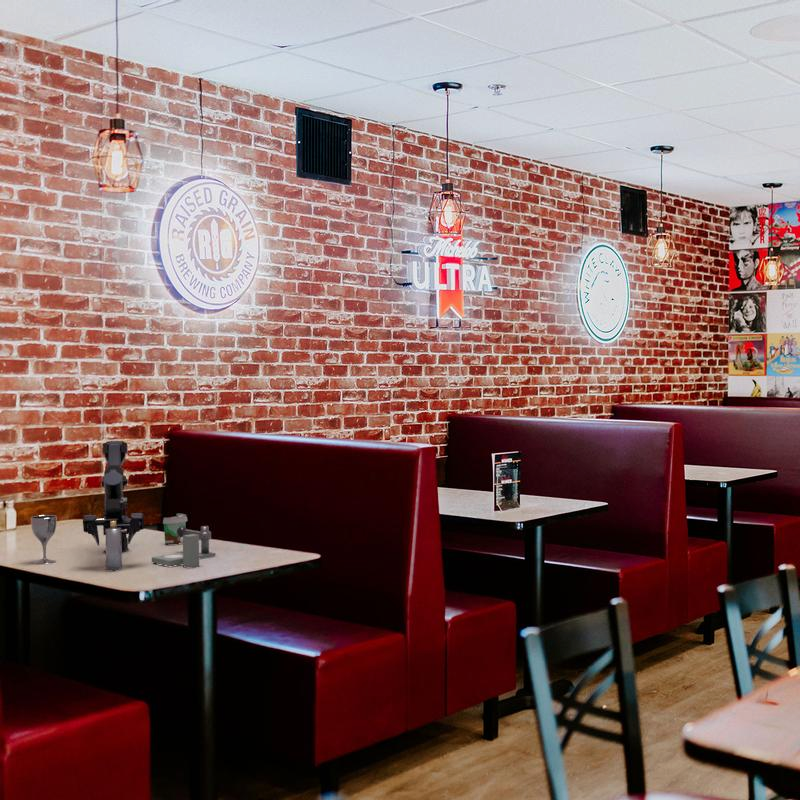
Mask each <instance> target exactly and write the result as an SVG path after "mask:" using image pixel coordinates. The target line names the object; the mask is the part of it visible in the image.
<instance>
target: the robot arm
mask: <svg viewBox="0 0 800 800" xmlns="http://www.w3.org/2000/svg"><path fill="white" fill-rule="evenodd" d="M102 455H104V459H105V461H106V464H107V468H106V469H105V470H104V471H103V473H104V475H103V476H102V477H101V488H102V489H104V508H103V516H104V517H102V518H97V515H96V514H90V515H87V514H86V515H83V517H82V528H83V529H82V530H83V533H87V534H88V535H91V536H92V538H93V539H94V541H95V543H96V545H97V546H100V537H99V529H98V526H99V527H100V526H101V527H102V529H103V531H102V533H103V536H106V533H105V529H106V528H110V521H113V520H115V521H116V527H120V528H121V540H122V553H123V551H124V552H127V551H129V550H130V548H129V545H130V544H131V541H132V540H133V537H134V536H135V535H136V534H137V532H141V531H142V530H144V529H145V515H144V514H143V513H142V512H138V513H137V512H135V513H134V512H133V513H131V514H130V515H131V516H130V517H129V516H127V510H126V509H128V497H124V493H123V491H124V490H125V488H126V487H127V485H128V484H129V480H128V478H127V477H126V475H125V473H124V470H123V468H122V466H123V464H124V463H125V461H126V455H128V442H125V441H124V440H110V441H106V442H103V443H102ZM127 536H128V537H127ZM126 550H127V551H126ZM103 553H106V549H105V550H103Z"/></svg>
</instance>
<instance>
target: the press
mask: <svg viewBox="0 0 800 800" xmlns="http://www.w3.org/2000/svg"><path fill="white" fill-rule="evenodd" d="M180 542H181V543H183V544H182V553H179V552H177V553H170V554H164V555H158V556H152V557H151V563H152V562H153V563H158V564H162V565H167V566H174V565H179V566H185V567H184V568H186V567H192V568H195V567H194V566H198V567H200V559H199V558H202V559H206V558H205V557H208V558H211V557H210V556H213V557H216V556H217V553H216V552H212V551H211V552H210V551H209V553H201V552H200V540H199V535H196V534H190V535H183V537H181V538H180ZM215 555H216V556H215ZM181 564H183V565H181ZM162 565H161V566H162ZM174 567H175V566H174Z"/></svg>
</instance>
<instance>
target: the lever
mask: <svg viewBox="0 0 800 800" xmlns="http://www.w3.org/2000/svg"><path fill="white" fill-rule="evenodd" d="M209 527H210V526H208V525H203V526H200V531H199V530H193V529H187V528H186V526H185V527H179V528H178V529H177V535H178V536H179V537H183V535H190V534H196V535H199V541H200V549H201V550H200V553H209V552H210V540H211V539H212V531H211V530H210V528H209Z"/></svg>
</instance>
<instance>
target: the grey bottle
mask: <svg viewBox="0 0 800 800" xmlns="http://www.w3.org/2000/svg"><path fill="white" fill-rule="evenodd" d="M121 531H122V530H121V528H120V527H116V521H115V520H113V521H110V528H106V529H105V533H106V535H105V550H106V552H105V571H106V570H119V569H122V570H123V552H122V540H121ZM119 571H120V570H119Z"/></svg>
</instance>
